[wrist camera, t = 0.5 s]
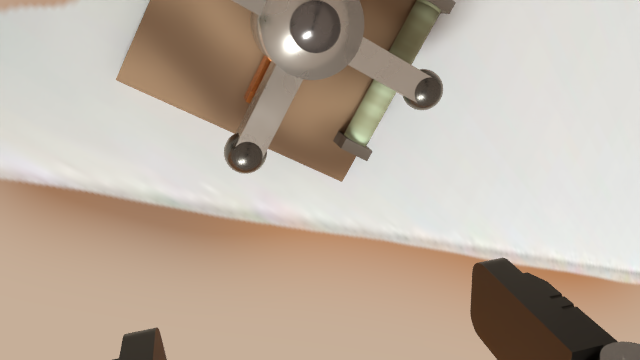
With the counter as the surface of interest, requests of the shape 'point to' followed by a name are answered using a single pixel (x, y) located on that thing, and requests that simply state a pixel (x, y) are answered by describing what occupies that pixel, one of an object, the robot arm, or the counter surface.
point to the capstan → (312, 67)
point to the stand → (243, 61)
